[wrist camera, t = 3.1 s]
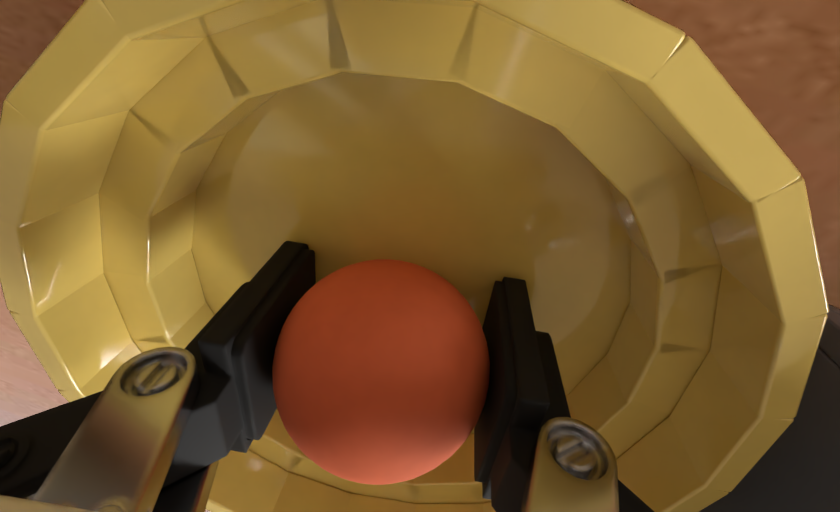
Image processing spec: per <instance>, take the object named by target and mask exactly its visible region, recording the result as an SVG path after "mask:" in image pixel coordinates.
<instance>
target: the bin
mask: <svg viewBox="0 0 840 512" xmlns="http://www.w3.org/2000/svg"><path fill="white" fill-rule="evenodd" d="M828 307H829V312H828V313H827V316H828V317H827V320H826V324H825V327H824V330H823V333H822V336H821V339H820V342H819V346H818V349H817V352H816V355H815V358H814V361H813V365H812V368H811V371H810V374H809V377H808V380H807V383H806V387H805V390H804V393H803V396H802V399H801V402H800V405H799V409H798V412H797V415H796V417H795V418H793V419H794V421H793V423H792V424H791V425H790V426H789V427H788V428H787V429H786V431H785V432H784V433H783V434H782V435H781V436H780V437H779V439H778V440H777V441H776V442H775V443H774V444H773V445H772V447H771V448H770V449H769V450H768V451H767V452H766V453H765V454H764V456H763V457H762V458H761V459H760V460H759V461H758V462H757V464H756V465H755V466H754V467H753V468H752V469H751V470H750V472H749V473H748V474H747V475H746V476H745V477H744V478H743V479H742V481H741V482H740V483H739V484H738V485H737V486H736V487H735V489H734V490H733V491H732V492H729V494H728V495H726V496H725V497H723V498H721V499H720V500H718V501H716V502H715V503H713V504H711V505H710V506H708V507H706V508H705V509H703V510H701V511H700V512H840V309H838V308H836V307H834V306H831V305H829V304H828Z"/></svg>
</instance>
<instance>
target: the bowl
mask: <svg viewBox="0 0 840 512" xmlns="http://www.w3.org/2000/svg"><path fill="white" fill-rule="evenodd" d="M685 35H686V34H685V33H684V31H683V30H681V29H679V28H677V27H675V26H673V25H671V24H669V23H667V22H665V21H663V20H662V19H660V18H658V17H656V16H654V15H652V14H650V13H648V12H646V11H644V10H642V9H640V8H638V7H636V6H634V5H632V4H630V3H628V2H626V1H624V0H85V1H84V2H83V4H82V5H81V6H80V7H79V9H78V10H77V11H76V12H75V13H74V15H73V16H72V17H71V18H70V19H69V21H68V22H67V23H66V24H65V25H64V27H63V28H62V29H61V30H60V32H59V33H58V34H57V35H56V36H55V38H54V39H53V40H52V41H51V42H50V44H49V45H48V46H47V47H46V49H45V50H44V51H43V52H42V53H41V55H40V56H39V57H38V58H37V59H36V61H35V62H34V63H33V64H32V65H31V67H30V68H29V69H28V70H27V72H26V73H25V74H24V75H23V76H22V78H21V79H20V80H19V81H18V82H17V84H16V85H15V86H14V87H13V88H12V90H11V91H10V92H9V93H8V95H7V96H6V100H4V102H3V106H2V111H1V117H0V282H1V286H2V290H3V294H4V298H5V302H6V306H7V309H8V310H10V314H11V316H12V317H13V319H14V320H15V322H16V324H17V325H18V327H19V329H20V330H21V332H22V334H23V335H24V337H25V338H26V340H27V342H28V343H29V345H30V347H31V348H32V350H33V352H34V353H35V355H36V356H37V358H38V360H39V361H40V363H41V365H42V366H43V368H44V369H45V371H46V373H47V374H48V376H49V378H50V379H51V381H52V383H53V384H54V386H55V387H56V388H57V389H58V392H59V393H60V394H61V395H62V396H63V397H64V398H65V399H66V400H67V401H68V402H72V401H75V400H78V399H80V398H83V397H86V396H89V395H92V394H95V393H97V392H100V391H103V390H104V388H105V387H106V385H107V384H108V382H109V380H110V379H111V377H112V376H113V374H114V373H115V372H116V371H117V370H118V368H119V367H120V366H121V365H122V364H124V363H125V362H126V361H128V360H129V359H131V358H132V357H134V356H136V355H138V354H140V353H142V352H145V351H148V350H151V349H155V348H160V347H168V346H169V347H180V348H183V349H185V347H186V346H187V345H188V344H189V343H190V342H191V341H192V340H193V339H194V337H195V336H196V335H197V334H198V333H199V332H200V331H201V330H202V329H203V327H204V326H205V325H206V324H207V323H208V322H209V321H210V320H211V319H212V317H213V316H214V315H215V314H216V313H217V312H218V311H219V310H220V309H221V307H222V306H223V305H224V304H225V303H226V302H227V301H228V300H229V299H230V297H231V296H232V295H233V294H234V293H235V292H236V291H237V290H238V288H239V287H240V286H241V285H243V284H244V283H245V282H250V280H251V279H252V278H253V277H254V276H255V275H256V274H257V272H258V271H259V270H260V269H261V268H262V267H263V266H264V265H265V263H266V262H267V261H268V260H269V259H270V258H271V257H272V255H273V254H274V253H275V252H276V251H277V250H278V249H279V248H280V246H281V245H282V244H283V243H284V242H285V241H292V242H298V243H305V244H307V245H308V247H309V250H313V251H314V252H315V275H316V283H317V282H319V281H320V280H321V279H322V278H324V277H326V276H328V275H329V274H331V273H333V272H335V271H336V270H338V269H340V268H343V267H345V266H348V265H351V264H355V263H359V262H363V261H368V260H376V259H391V260H400V261H405V262H409V263H413V264H416V265H419V266H422V267H425V268H427V269H429V270H431V271H433V272H435V273H436V274H438V275H440V276H441V277H443V278H444V279H446V280H447V281H448V282H449V283H451V284H452V285H453V286H454V287H455V288H456V289H457V290H458V291H459V292H460V293H461V294H462V295H463V296H464V297H465V299H466V300H467V301H468V303H469V304H470V305H471V307H472V309H473V310H474V312H475V314H476V316H477V317H478V319H479V321H480V323H481V326H482V327H483V324H484V320H485V316H486V312H487V308H488V305H489V301H490V297H491V293H492V290H493V286H494V283H495V281H502V279H503V277H510V278H516V279H522V280H525V281H526V285H527V290H528V295H529V300H530V305H531V310H532V315H533V320H534V325H535V330H536V331H541V332H547V333H549V334H550V336H551V339H552V342H553V346H554V350H555V355H556V359H557V363H558V367H559V371H560V375H561V379H562V383H563V387H564V391H565V395H566V399H567V403H568V407H569V411H570V415H571V418H573V419H577V420H580V421H582V422H584V423H586V424H588V425H589V426H591V427H592V428H594V429H595V430H596V431H597V432H599V433H600V434H601V435H602V436H603V438H604V439H605V440H606V441H607V442H608V443H609V445H610V447H611V449H612V451H613V452H614V454H615V457H616V462H617V467H618V480H620V481H621V482H622V483H623V484H624V485H625V486H626V487H627V488H629V489H630V490H631V491H632V492H633V493H634V494H635V495H636V496H637V497H639V498H640V499H641V500H642V501H643V502H644V503H645V504H646V505H648V506H649V507H650V508H651V509H652V510H653V511H654V512H700V511H701V510H703V509H705V508H706V507H708V506H710V505H711V504H713V503H715V502H716V501H718V500H720V499H721V498H723V497H725V496H726V495H728V494H729V492H732V491H733V490H734V489H735V487H736V486H737V485H738V484H739V483H740V482H741V481H742V479H743V478H744V477H745V476H746V475H747V474H748V473H749V472H750V470H751V469H752V468H753V467H754V466H755V465H756V464H757V462H758V461H759V460H760V459H761V458H762V457H763V456H764V454H765V453H766V452H767V451H768V450H769V449H770V448H771V447H772V445H773V444H774V443H775V442H776V441H777V440H778V439H779V437H780V436H781V435H782V434H783V433H784V432H785V431H786V429H787V428H788V427H789V426H790V425H791V424H792V423H793V421H794V419H793V418H795V417H796V415H797V412H798V409H799V405H800V402H801V399H802V396H803V393H804V390H805V387H806V383H807V380H808V377H809V374H810V371H811V368H812V365H813V361H814V358H815V355H816V352H817V349H818V346H819V342H820V339H821V336H822V333H823V330H824V327H825V324H826V320H827V317H828V316H827V313H828V312H829V307H828V301H827V296H826V291H825V285H824V280H823V275H822V270H821V264H820V259H819V254H818V249H817V243H816V238H815V233H814V227H813V222H812V217H811V212H810V206H809V201H808V196H807V191H806V185H805V180H804V178H803V177H801V173H800V171H799V170H798V169H797V168H796V166H795V165H794V164H793V163H792V161H791V160H790V159H789V158H788V156H787V155H786V154H785V153H784V151H783V150H782V149H781V148H780V146H779V145H778V144H777V143H776V141H775V140H774V139H773V138H772V136H771V135H770V134H769V133H768V131H767V130H766V129H765V128H764V126H763V125H762V124H761V123H760V121H759V120H758V119H757V118H756V116H755V115H754V114H753V113H752V111H751V110H750V109H749V108H748V106H747V105H746V104H745V103H744V102H743V100H742V99H741V98H740V97H739V95H738V94H737V93H736V92H735V90H734V89H733V88H732V87H731V85H730V84H729V83H728V82H727V80H726V79H725V78H724V77H723V75H722V74H721V73H720V72H719V70H718V69H717V68H716V67H715V65H714V64H713V63H712V62H711V60H710V59H709V58H708V57H707V55H706V54H705V53H704V52H703V50H702V49H701V48H700V47H699V45H698V44H697V43H696V42H695V40H694V39H693V38H692V37H690V36H685ZM206 509H207V510H209V511H211V512H496V511H495V510H494V509H493V507H492V506H491V500H489V499H484V498H482V482H476V481H475V479H474V428H473V430H472V432H471V433H470V435H469V436H468V438H467V439H466V441H465V442H464V443H463V444H462V445H461V446H460V447H459V449H458V450H457V451H456V452H455V453H454V454H453V455H452V456H451V457H450V458H448V459H447V460H446V461H444V462H443V463H442V464H440V465H439V466H438V467H436V468H435V469H433V470H431V471H429V472H427V473H425V474H423V475H421V476H419V477H416V478H414V479H411V480H407V481H404V482H398V483H393V484H385V485H372V484H363V483H357V482H353V481H349V480H346V479H343V478H340V477H338V476H335V475H333V474H331V473H329V472H327V471H326V470H324V469H322V468H321V467H319V466H318V465H317V464H315V463H314V462H313V461H312V460H311V459H309V458H308V457H307V456H306V455H305V454H304V453H303V452H302V451H301V450H300V449H299V448H298V446H297V445H296V444H295V442H294V441H293V440H292V438H291V437H290V435H289V434H288V432H287V430H286V429H285V427H284V424H283V422H282V420H281V418H280V415H279V412H278V410H277V409H276V411H275V413H274V415H273V417H272V419H271V421H270V422H269V424H268V426H267V428H266V430H265V432H264V434H263V436H262V437H261V438H260V440H253V441H252V443H251V445H250V447H249V449H248V451H247V453H242V452H237V451H232V450H230V452H229V453H228V455H227V456H226V457H224V458H222V459H220V460H219V464H218V467H217V471H216V474H215V478H214V481H213V484H212V488H211V491H210V495H209V498H208V502H207V505H206Z"/></svg>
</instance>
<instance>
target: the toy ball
mask: <svg viewBox="0 0 840 512" xmlns="http://www.w3.org/2000/svg"><path fill="white" fill-rule="evenodd" d="M489 374H490V360H489V353H488V346H487V341H486V338H485V335H484V332H483V329H482V326H481V323H480V321H479V319H478V317H477V316H476V314H475V312H474V310H473V309H472V307H471V305H470V304H469V303H468V301H467V300H466V299H465V297H464V296H463V295H462V294H461V293H460V292H459V291H458V290H457V289H456V288H455V287H454V286H453V285H452V284H451V283H449V282H448V281H447V280H446V279H444V278H443V277H441V276H440V275H438V274H436V273H435V272H433V271H431V270H429V269H427V268H425V267H422V266H419V265H416V264H413V263H409V262H405V261H400V260H391V259H376V260H368V261H363V262H359V263H355V264H351V265H348V266H345V267H343V268H340V269H338V270H336V271H335V272H333V273H331V274H329V275H328V276H326V277H324V278H322V279H321V280H320V281H319V282H317V283H316V284H315V285H314V286H313V287H311V288H310V289H309V290H308V291H307V292H306V293H305V294H304V295H303V296H302V297H301V299H300V300H299V301H298V302H297V303H296V305H295V306H294V307H293V309H292V310H291V312H290V314H289V315H288V317H287V319H286V321H285V323H284V325H283V327H282V329H281V332H280V335H279V337H278V341H277V344H276V347H275V353H274V359H273V366H272V378H273V392H274V397H275V401H276V406H277V410H278V412H279V415H280V418H281V420H282V422H283V424H284V427H285V429H286V430H287V432H288V434H289V435H290V437H291V438H292V440H293V441H294V442H295V444H296V445H297V446H298V448H299V449H300V450H301V451H302V452H303V453H304V454H305V455H306V456H307V457H308V458H309V459H311V460H312V461H313V462H314V463H315V464H317V465H318V466H319V467H321V468H322V469H324V470H326V471H327V472H329V473H331V474H333V475H335V476H338V477H340V478H343V479H346V480H349V481H353V482H357V483H363V484H372V485H385V484H393V483H398V482H404V481H407V480H411V479H414V478H416V477H419V476H421V475H423V474H425V473H427V472H429V471H431V470H433V469H435V468H436V467H438V466H439V465H440V464H442V463H443V462H444V461H446V460H447V459H448V458H450V457H451V456H452V455H453V454H454V453H455V452H456V451H457V450H458V449H459V447H460V446H461V445H462V444H463V443H464V442H465V441H466V439H467V438H468V436H469V435H470V433H471V432H472V430H473V428H474V427H475V425H476V424H477V421H478V419H479V417H480V414H481V412H482V409H483V407H484V404H485V400H486V396H487V391H488V386H489Z"/></svg>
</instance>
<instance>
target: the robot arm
mask: <svg viewBox="0 0 840 512" xmlns="http://www.w3.org/2000/svg"><path fill="white" fill-rule="evenodd" d="M315 284H316V275H315V252H314V251H313V250H309V247H308V245H307V244H305V243H298V242H292V241H285V242H284V243H283V244H282V245H281V246H280V248H279V249H278V250H277V251H276V252H275V253H274V254H273V255H272V257H271V258H270V259H269V260H268V261H267V262H266V263H265V265H264V266H263V267H262V268H261V269H260V270H259V271H258V272H257V274H256V275H255V276H254V277H253V278H252V279H251V280H250V282H245V283H244V284H243V285H241V286H240V287H239V288H238V290H237V291H236V292H235V293H234V294H233V295H232V296H231V297H230V299H229V300H228V301H227V302H226V303H225V304H224V305H223V306H222V307H221V309H220V310H219V311H218V312H217V313H216V314H215V315H214V316H213V317H212V319H211V320H210V321H209V322H208V323H207V324H206V325H205V326H204V327H203V329H202V330H201V331H200V332H199V333H198V334H197V335H196V336H195V337H194V339H193V340H192V341H191V342H190V343H189V344H188V345H187V346H186V347H185V349H183V348H180V347H169V346H168V347H160V348H155V349H151V350H148V351H145V352H142V353H140V354H138V355H136V356H134V357H132V358H131V359H129V360H128V361H126V362H125V363H124V364H122V365H121V366H120V367H119V368H118V370H117V371H116V372H115V373H114V374H113V376H112V377H111V379H110V380H109V382H108V384H107V385H106V387H105V388H104V390H103V391H100V392H97V393H95V394H92V395H89V396H86V397H83V398H80V399H78V400H75V401H72V402H69V403H66V404H63V405H61V406H58V407H55V408H52V409H49V410H46V411H44V412H41V413H38V414H35V415H32V416H29V417H27V418H24V419H21V420H18V421H15V422H12V423H10V424H7V425H4V426H1V427H0V512H205V509H206V505H207V502H208V498H209V495H210V491H211V488H212V484H213V481H214V478H215V474H216V471H217V467H218V464H219V460H220V459H222V458H224V457H226V456H227V455H228V453H229V452H230V450H232V451H237V452H242V453H247V451H248V449H249V447H250V445H251V443H252V441H253V440H260V438H261V437H262V436H263V434H264V432H265V430H266V428H267V426H268V424H269V422H270V421H271V419H272V417H273V415H274V413H275V411H276V409H277V406H276V401H275V397H274V392H273V378H272V366H273V359H274V353H275V347H276V344H277V341H278V337H279V335H280V332H281V329H282V327H283V325H284V323H285V321H286V319H287V317H288V315H289V314H290V312H291V310H292V309H293V307H294V306H295V305H296V303H297V302H298V301H299V300H300V299H301V297H302V296H303V295H304V294H305V293H306V292H307V291H308V290H309V289H310V288H311V287H313V286H314V285H315ZM482 329H483V332H484V335H485V338H486V341H487V346H488V353H489V360H490V374H489V386H488V391H487V396H486V400H485V404H484V407H483V409H482V412H481V414H480V417H479V419H478V421H477V424H476V425H475V427H474V479H475V481H476V482H482V498H484V499H489V500H491V506H492V507H493V509H494V510H495V511H496V512H654V511H653V510H652V509H651V508H650V507H649V506H648V505H646V504H645V503H644V502H643V501H642V500H641V499H640V498H639V497H637V496H636V495H635V494H634V493H633V492H632V491H631V490H630V489H629V488H627V487H626V486H625V485H624V484H623V483H622V482H621V481H620V480H618V467H617V462H616V457H615V454H614V452H613V451H612V449H611V447H610V445H609V443H608V442H607V441H606V440H605V439H604V438H603V436H602V435H601V434H600V433H599V432H597V431H596V430H595V429H594V428H592V427H591V426H589V425H588V424H586V423H584V422H582V421H580V420H577V419H573V418H571V415H570V411H569V407H568V403H567V399H566V395H565V391H564V387H563V383H562V379H561V375H560V371H559V367H558V363H557V359H556V355H555V350H554V346H553V342H552V339H551V336H550V334H549V333H547V332H541V331H536V330H535V325H534V320H533V315H532V310H531V305H530V300H529V295H528V290H527V285H526V281H525V280H522V279H516V278H510V277H503V279H502V281H495V283H494V286H493V290H492V293H491V297H490V301H489V305H488V308H487V312H486V316H485V320H484V324H483V327H482Z"/></svg>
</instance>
